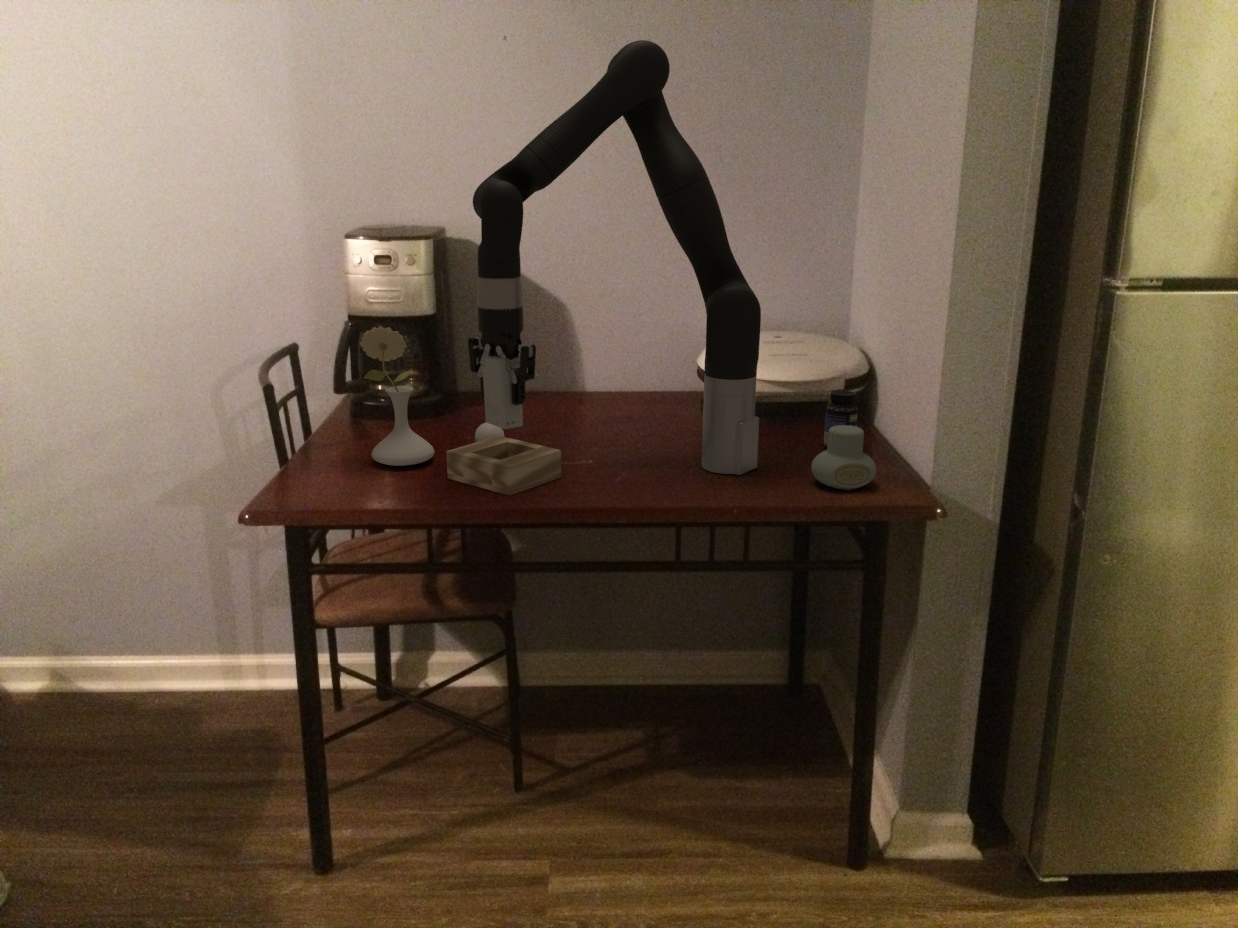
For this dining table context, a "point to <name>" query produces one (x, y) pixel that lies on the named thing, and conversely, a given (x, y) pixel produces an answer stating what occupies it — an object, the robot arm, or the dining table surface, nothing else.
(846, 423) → the pill bottle
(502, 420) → the skincare box
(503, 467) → the caddy
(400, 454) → the flower in vase
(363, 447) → the dining table surface
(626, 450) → the dining table surface
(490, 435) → the white egg
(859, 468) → the air freshener
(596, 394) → the dining table surface
